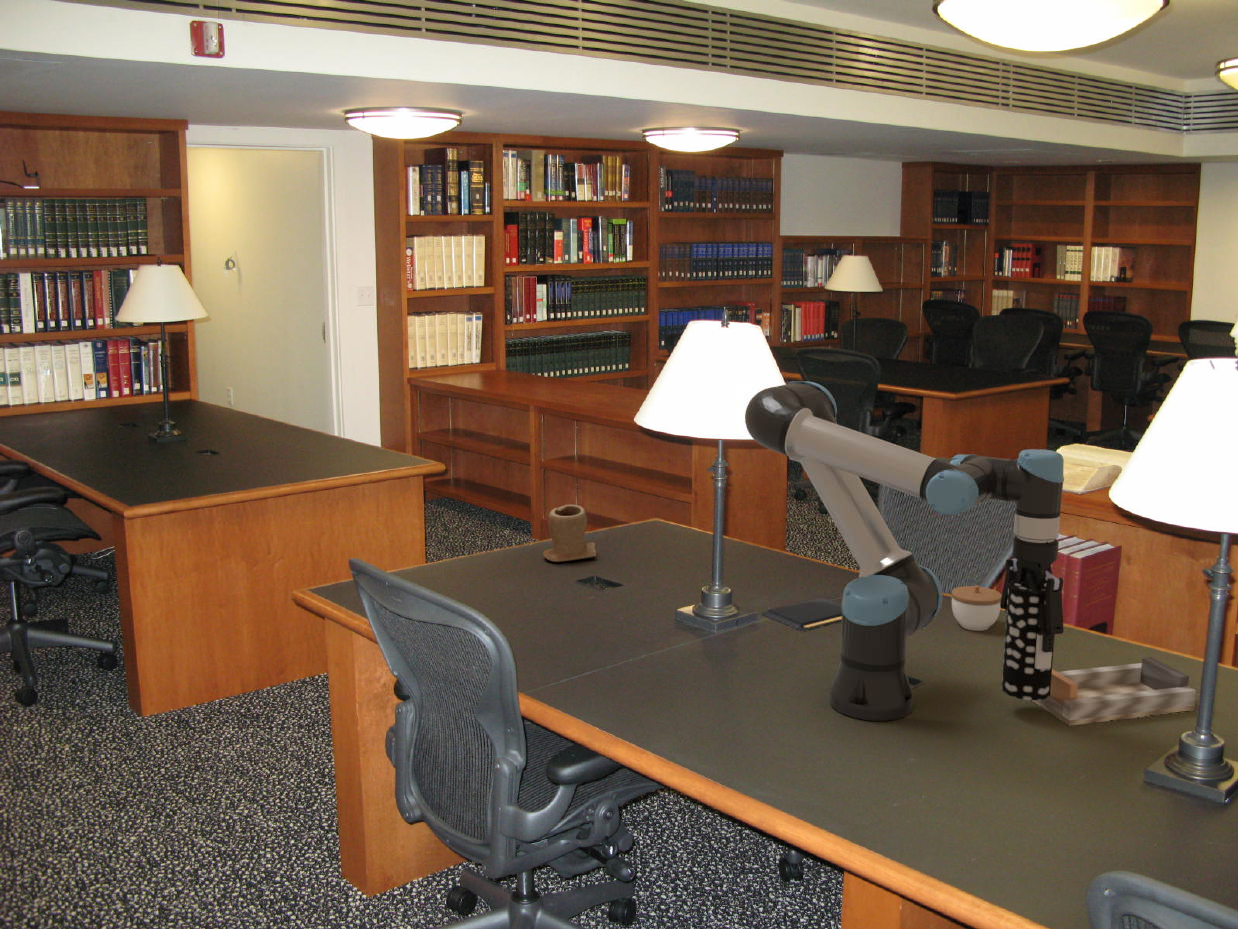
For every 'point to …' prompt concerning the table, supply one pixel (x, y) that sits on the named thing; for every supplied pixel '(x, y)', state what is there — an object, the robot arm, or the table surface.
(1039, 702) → the marbled beige tray
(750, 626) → the table surface
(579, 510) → the stone cup
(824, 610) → the dark navy book
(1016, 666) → the white-spotted black cylinder
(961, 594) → the lidded jar
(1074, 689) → the block
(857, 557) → the robot arm
